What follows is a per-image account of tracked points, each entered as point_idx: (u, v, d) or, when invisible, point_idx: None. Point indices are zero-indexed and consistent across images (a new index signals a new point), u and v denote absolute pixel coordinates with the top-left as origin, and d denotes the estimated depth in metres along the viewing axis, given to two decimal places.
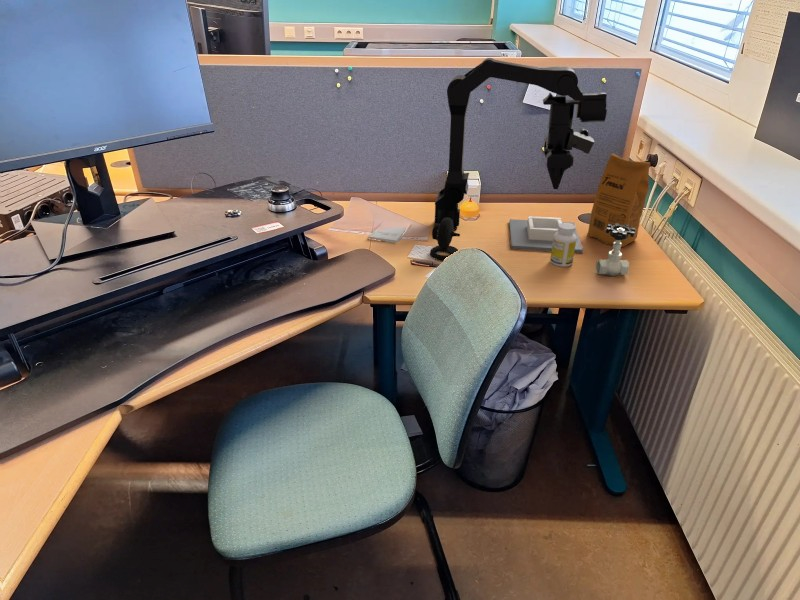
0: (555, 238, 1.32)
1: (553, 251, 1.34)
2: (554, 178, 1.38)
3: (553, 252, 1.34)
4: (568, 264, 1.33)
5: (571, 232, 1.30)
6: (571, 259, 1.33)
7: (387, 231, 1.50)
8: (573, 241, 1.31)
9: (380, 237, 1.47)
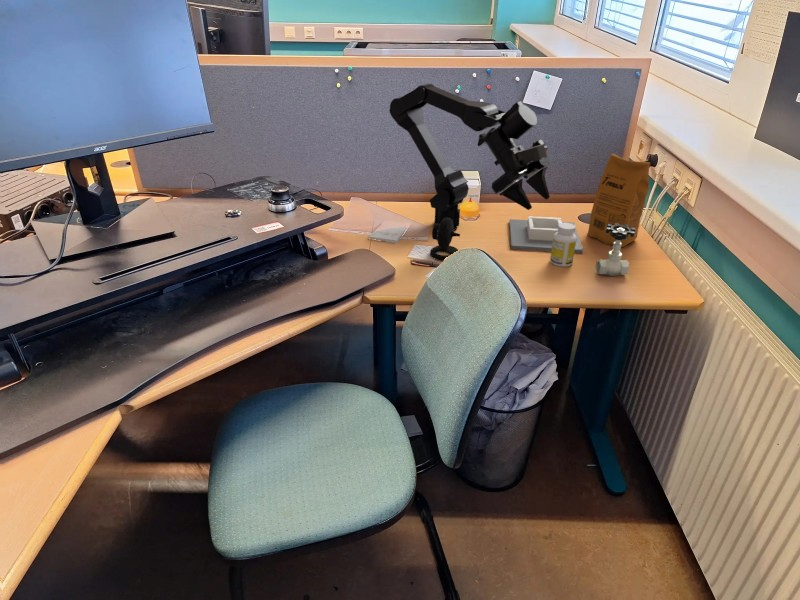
0: (555, 238, 1.32)
1: (553, 251, 1.34)
2: (519, 200, 1.31)
3: (553, 252, 1.34)
4: (568, 264, 1.33)
5: (571, 232, 1.30)
6: (571, 259, 1.33)
7: (387, 231, 1.50)
8: (573, 241, 1.31)
9: (380, 237, 1.47)
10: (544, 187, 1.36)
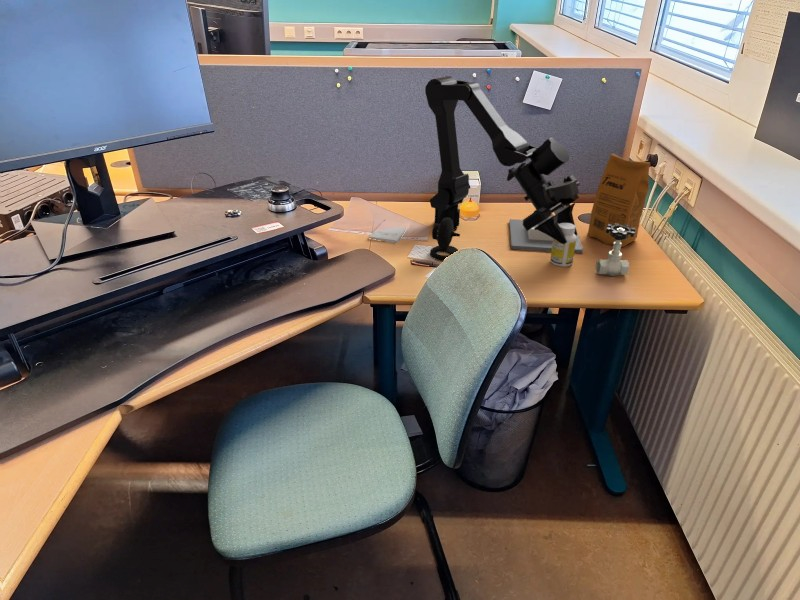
0: None
1: (553, 251, 1.34)
2: (553, 235, 1.30)
3: (553, 252, 1.34)
4: (568, 264, 1.33)
5: (571, 232, 1.30)
6: (571, 259, 1.33)
7: (387, 231, 1.50)
8: (573, 241, 1.31)
9: (380, 237, 1.47)
10: None
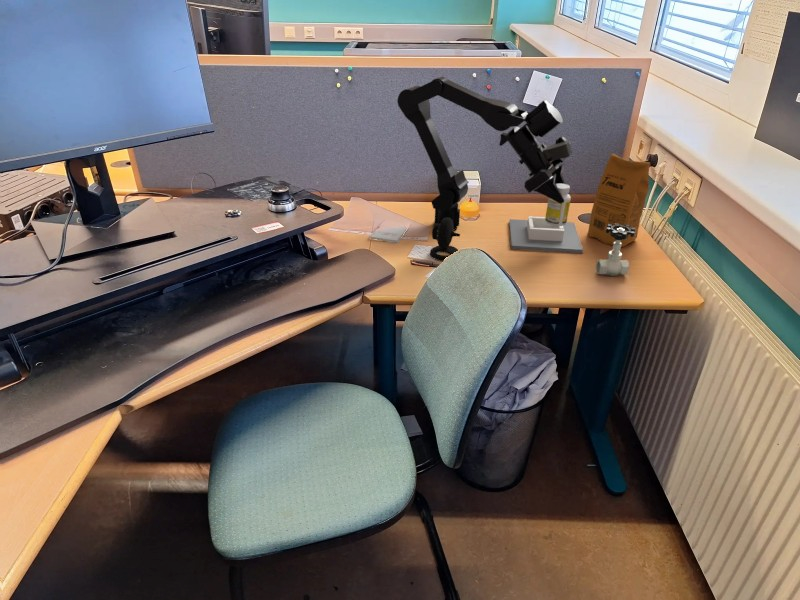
0: (551, 199, 1.36)
1: (549, 212, 1.38)
2: (552, 195, 1.34)
3: (549, 213, 1.38)
4: (564, 223, 1.39)
5: (567, 191, 1.35)
6: (566, 218, 1.39)
7: (387, 231, 1.50)
8: (569, 200, 1.36)
9: (381, 237, 1.47)
10: None
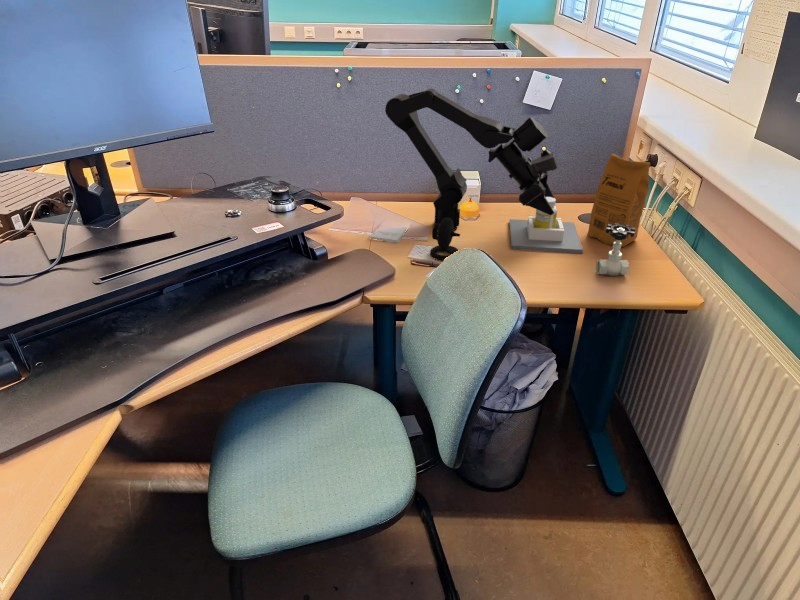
0: (540, 212, 1.44)
1: (539, 224, 1.45)
2: (542, 208, 1.39)
3: (539, 225, 1.45)
4: None
5: (554, 204, 1.43)
6: (554, 228, 1.47)
7: (387, 231, 1.50)
8: (556, 212, 1.44)
9: (381, 237, 1.47)
10: (550, 192, 1.47)
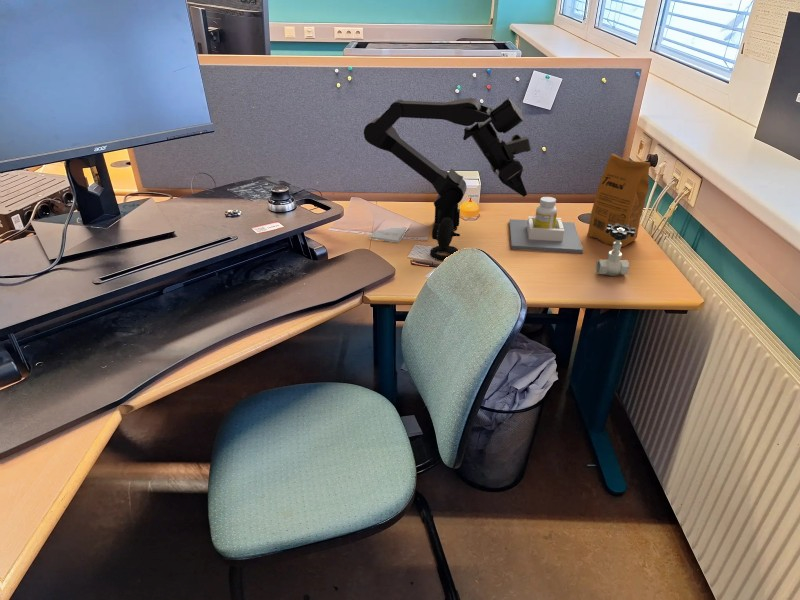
0: (540, 212, 1.44)
1: (539, 224, 1.45)
2: (517, 188, 1.40)
3: (539, 225, 1.45)
4: None
5: (554, 204, 1.43)
6: (554, 228, 1.47)
7: (388, 231, 1.50)
8: (556, 212, 1.44)
9: (381, 237, 1.47)
10: None
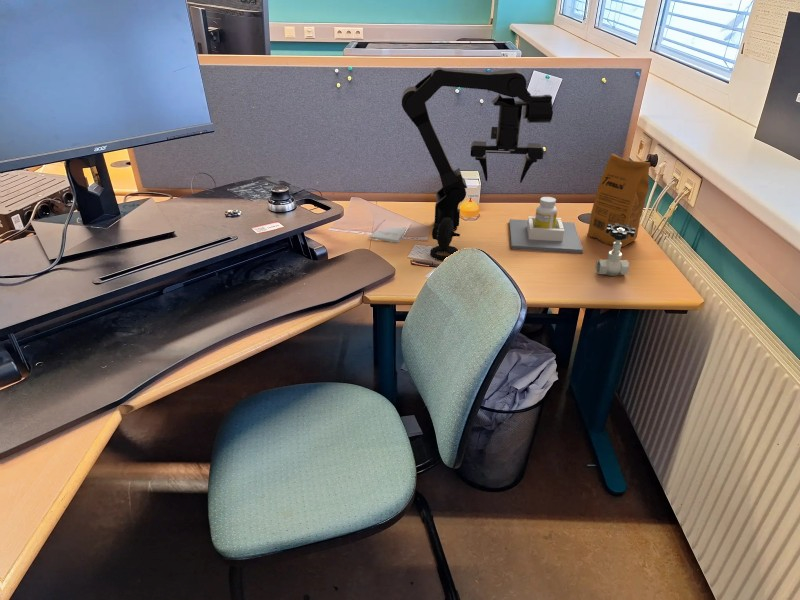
0: (540, 212, 1.44)
1: (539, 224, 1.45)
2: None
3: (539, 225, 1.45)
4: None
5: (554, 204, 1.43)
6: (554, 228, 1.47)
7: (388, 231, 1.50)
8: (556, 212, 1.44)
9: (381, 237, 1.47)
10: None
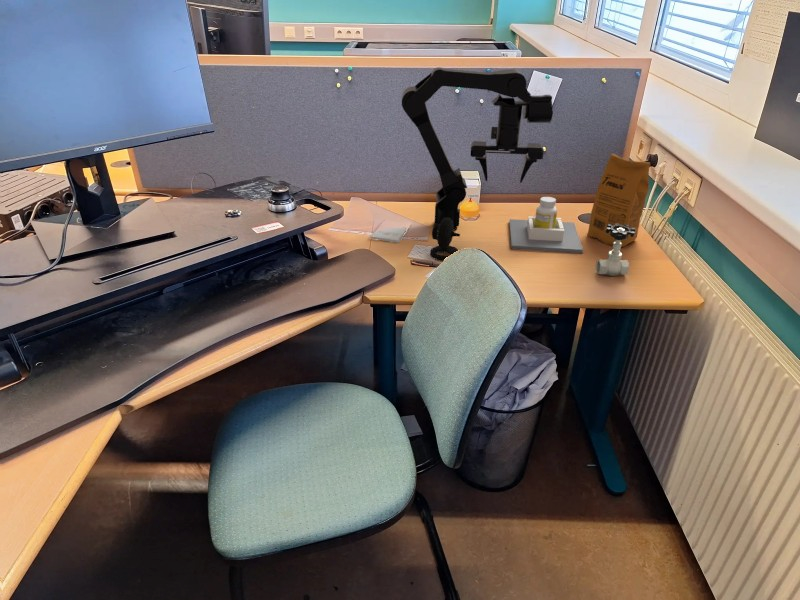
0: (540, 212, 1.44)
1: (539, 224, 1.45)
2: None
3: (539, 225, 1.45)
4: None
5: (554, 204, 1.43)
6: (554, 228, 1.47)
7: (388, 231, 1.50)
8: (556, 212, 1.44)
9: (382, 237, 1.47)
10: None
